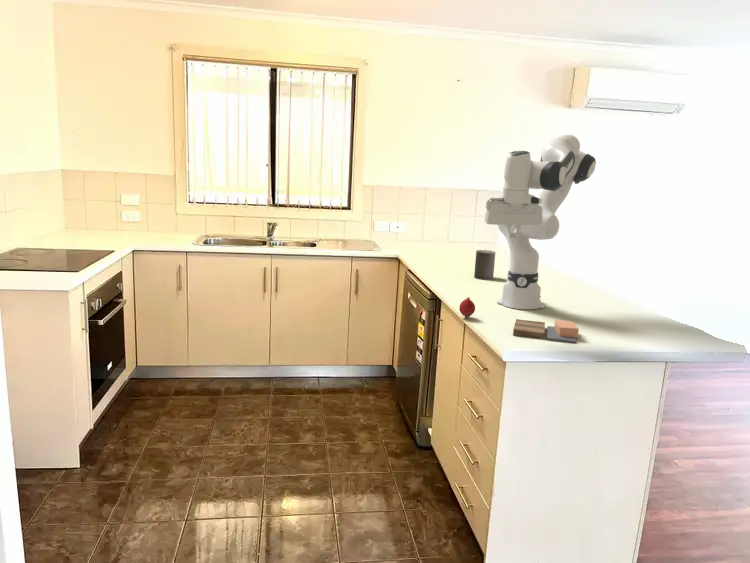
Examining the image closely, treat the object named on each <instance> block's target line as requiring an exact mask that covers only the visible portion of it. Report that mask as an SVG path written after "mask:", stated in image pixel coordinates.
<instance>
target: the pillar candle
mask: <svg viewBox="0 0 750 563" xmlns="http://www.w3.org/2000/svg"><path fill="white" fill-rule="evenodd" d="M475 251H476V253H475V259H474V260H475V261H474V262H475V263H474V273H473V274H474V276H473V278H476V279H478V280H485V281H486V280H487V281H488V280H493V279H494V273H495V262H496V261H495V260H496V251H493V250H490V249H489V250H488V249H478V250H475Z"/></svg>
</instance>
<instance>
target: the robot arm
mask: <svg viewBox="0 0 750 563" xmlns="http://www.w3.org/2000/svg"><path fill="white" fill-rule="evenodd" d="M580 149H581V144H580V141H579V139H578V138H577V137H576V136H574V135H572V134H564V135H561V136H558V137H556V138H554V139H552V140H551V141H549V142H548V143H547V144H546V145H545V146H544V147H543V148H542V152H541V156H540V161H533V160H532V159H531V152H530V151H527V150H518V151H517V150H515V151H511V152H509V153H507V157H506V160H505V165H504V172H503V173H504V174H503V178H504V185H503V186H502V187H503V188H502V197H491V198H489V199H487V201H486V204H485V208H486V211H485V215H484V222H485V224H487V225H492V226H493V225H497V227H498V229H499V232H501V234H503V236H504V237H505V239H506V241H507V244H508V247H509V254H510V256H509V270H508V272H507V281H506V282H504V283H503V284H502V295H501V297H500V298H499V299H498V300H497V301H496V304H499V305H502V306H505V307H507V308H512V309H517V310H536V309H544V308H545V305H544V303H543V302H542V300H541V290H542V289H541V287H540V285H539V272H538V270H539V260H540V259H539V258H540V255H539V252H538V251H537V249H535V248H534V247H533V245H532V244H531V242H530V239H531V240H539V241H544V240H552V239H553V238H555V237H556V236H557V235H558V232H559V230H560V221H559V219H558V217H557V215H555V214H556V212H557V211H558V209H559V207H561V205H562V204H563V202H564V201H565V200H566V198H567V196H568V194H569V193H570V191H571V188H572V185H573V183H574V185H575V184H576V185H578V184H580V183H581V182H585V181H586V180H588V179H590V177H591V176H592V175H593V173H594V172H595V169H596V164H597V162H596V158H595V157H594V156H593V155H591V154H589V153H586V152H583V151H581V150H580ZM530 189H532V190H536V191H535V193H534V194H530Z"/></svg>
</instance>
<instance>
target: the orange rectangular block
mask: <svg viewBox="0 0 750 563" xmlns="http://www.w3.org/2000/svg"><path fill="white" fill-rule="evenodd" d="M553 327H554V329H555V331H556V332H557V333H558V335H559V336H565V337H575V338H579V330H580V328H579V327H578V326H577V325H576V323H574V321H571V320H559V319H558V320H557V319H555V320H554V325H553Z"/></svg>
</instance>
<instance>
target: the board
mask: <svg viewBox="0 0 750 563" xmlns="http://www.w3.org/2000/svg"><path fill="white" fill-rule="evenodd" d="M545 325H546V322H544V321H534V320H525V319H520V318H519V319H517V318H516V319H515V322H514V326H513V329H512V330H513V331H512V335H513V336H516V337H522V338H523V337H524V338H532V339H540V340H544V339H545V330H546V329H545Z"/></svg>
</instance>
